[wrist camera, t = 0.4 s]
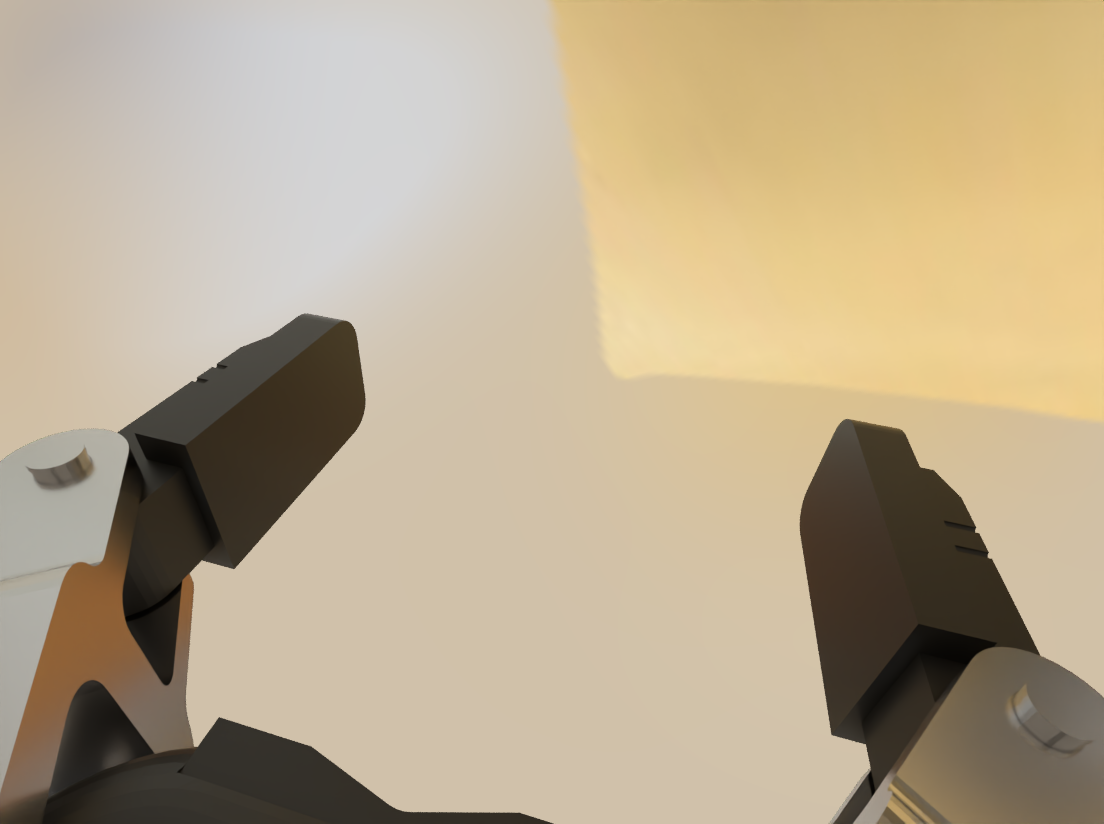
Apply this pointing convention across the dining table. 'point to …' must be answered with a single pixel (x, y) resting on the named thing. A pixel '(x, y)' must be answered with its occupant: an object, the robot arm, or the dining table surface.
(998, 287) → the dining table surface
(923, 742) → the robot arm
